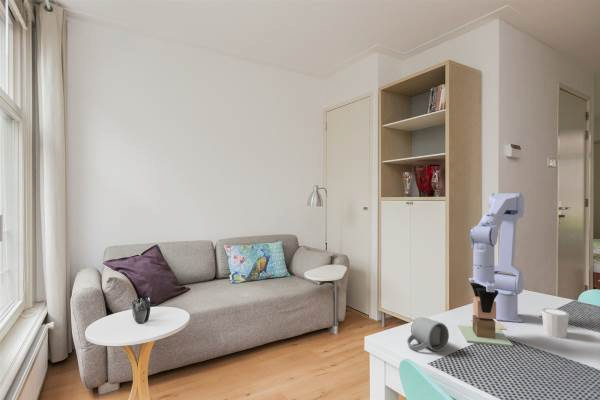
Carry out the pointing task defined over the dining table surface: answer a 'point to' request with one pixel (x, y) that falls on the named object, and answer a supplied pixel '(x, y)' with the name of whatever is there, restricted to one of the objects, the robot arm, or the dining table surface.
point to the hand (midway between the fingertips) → (483, 309)
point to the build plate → (472, 338)
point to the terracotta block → (478, 310)
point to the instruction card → (498, 325)
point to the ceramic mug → (428, 334)
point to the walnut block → (483, 327)
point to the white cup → (555, 322)
